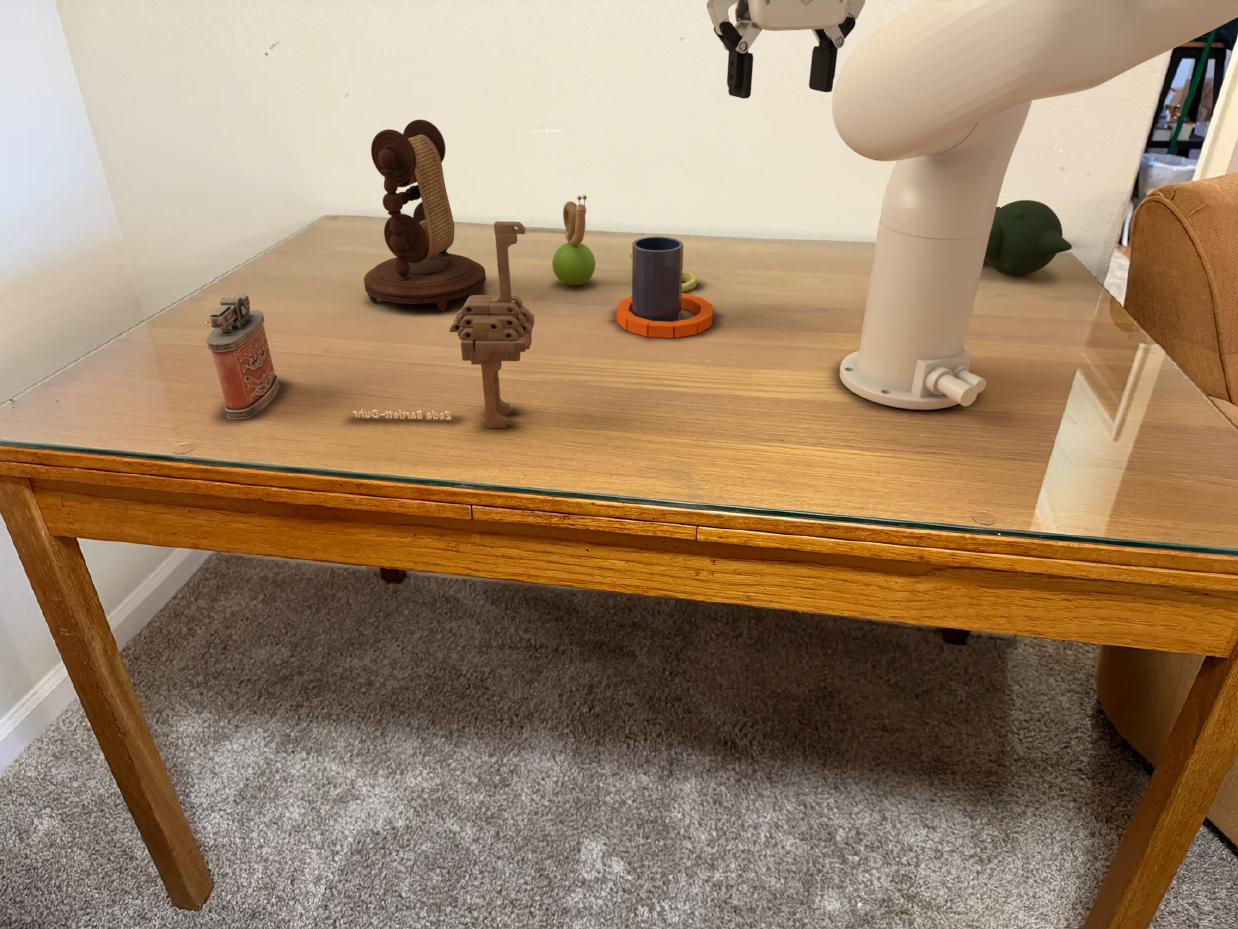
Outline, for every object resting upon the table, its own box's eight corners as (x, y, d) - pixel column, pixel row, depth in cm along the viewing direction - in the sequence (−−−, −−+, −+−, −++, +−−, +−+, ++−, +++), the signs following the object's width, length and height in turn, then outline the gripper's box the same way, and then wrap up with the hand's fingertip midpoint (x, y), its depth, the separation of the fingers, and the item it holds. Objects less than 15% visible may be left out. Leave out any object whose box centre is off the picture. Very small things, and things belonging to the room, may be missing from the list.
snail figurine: (564, 296, 105) (561, 198, 99) (547, 281, 110) (542, 186, 104) (605, 290, 107) (603, 193, 100) (586, 275, 112) (584, 182, 106)
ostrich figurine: (542, 403, 80) (532, 211, 71) (534, 438, 74) (521, 234, 65) (365, 401, 81) (332, 210, 71) (344, 435, 75) (304, 233, 66)
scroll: (451, 321, 98) (431, 139, 87) (342, 307, 102) (310, 131, 92) (506, 281, 110) (494, 116, 99) (406, 269, 114) (384, 110, 103)
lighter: (253, 381, 85) (229, 284, 79) (287, 381, 84) (264, 284, 79) (218, 419, 78) (189, 316, 72) (254, 419, 78) (228, 316, 72)
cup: (688, 325, 97) (692, 247, 92) (644, 333, 95) (645, 254, 90) (666, 309, 101) (668, 234, 96) (624, 316, 99) (624, 240, 95)
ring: (729, 328, 96) (730, 317, 95) (640, 343, 92) (640, 331, 91) (685, 297, 104) (686, 286, 104) (603, 310, 101) (603, 299, 100)
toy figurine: (918, 188, 122) (1014, 207, 100) (1040, 187, 125) (1161, 206, 102) (909, 254, 126) (999, 287, 103) (1028, 252, 128) (1142, 284, 106)
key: (644, 262, 116) (644, 247, 115) (703, 287, 108) (704, 271, 106) (601, 273, 112) (601, 257, 111) (659, 299, 104) (660, 283, 103)
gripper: (737, -117, 71) (725, 104, 79) (902, -112, 77) (873, 92, 85) (694, -112, 76) (687, 94, 85) (850, -108, 82) (828, 84, 91)
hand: (780, 93), depth 85 cm, fingers open, 9 cm apart
